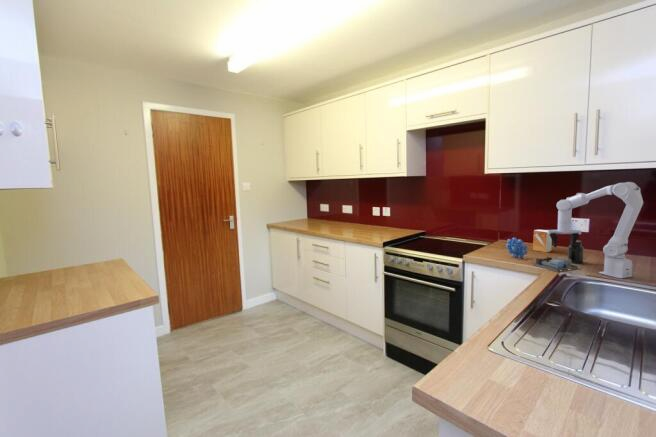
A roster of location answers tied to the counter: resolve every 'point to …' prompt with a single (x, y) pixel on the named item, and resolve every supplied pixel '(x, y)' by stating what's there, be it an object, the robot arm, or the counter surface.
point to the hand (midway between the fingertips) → (563, 247)
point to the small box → (542, 241)
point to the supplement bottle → (576, 252)
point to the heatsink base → (549, 266)
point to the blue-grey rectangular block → (557, 262)
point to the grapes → (516, 247)
